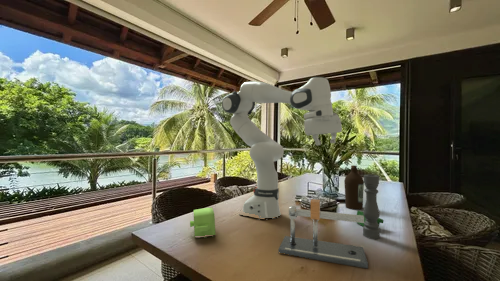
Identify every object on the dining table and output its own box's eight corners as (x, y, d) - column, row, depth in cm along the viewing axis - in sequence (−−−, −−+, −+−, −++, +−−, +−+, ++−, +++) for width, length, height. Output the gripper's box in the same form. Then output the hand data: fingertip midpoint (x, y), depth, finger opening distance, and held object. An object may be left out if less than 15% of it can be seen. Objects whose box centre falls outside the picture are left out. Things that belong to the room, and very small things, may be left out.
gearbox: (190, 227, 106) (189, 206, 106) (212, 224, 108) (211, 204, 108) (190, 243, 88) (189, 218, 88) (216, 239, 91) (215, 215, 91)
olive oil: (341, 207, 137) (341, 165, 137) (348, 204, 144) (348, 164, 144) (359, 211, 129) (359, 167, 129) (366, 207, 136) (366, 165, 137)
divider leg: (310, 247, 80) (310, 201, 80) (311, 242, 84) (311, 198, 84) (319, 249, 79) (319, 202, 79) (320, 243, 83) (320, 199, 83)
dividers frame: (286, 244, 83) (286, 207, 84) (289, 237, 89) (289, 203, 89) (365, 256, 75) (365, 215, 75) (363, 248, 81) (363, 209, 81)
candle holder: (360, 233, 98) (359, 174, 98) (373, 232, 98) (373, 174, 98) (368, 239, 92) (368, 176, 92) (383, 238, 92) (383, 176, 92)
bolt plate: (278, 253, 80) (278, 248, 80) (285, 239, 91) (285, 235, 91) (367, 268, 70) (367, 263, 70) (362, 251, 82) (362, 246, 82)
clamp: (377, 239, 102) (387, 223, 99) (365, 236, 102) (375, 220, 98) (364, 220, 114) (372, 205, 110) (353, 217, 113) (361, 203, 109)
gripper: (332, 113, 109) (335, 142, 109) (300, 115, 99) (304, 146, 99) (343, 111, 104) (347, 141, 104) (311, 112, 93) (315, 146, 93)
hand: (325, 144), depth 101 cm, fingers open, 8 cm apart
